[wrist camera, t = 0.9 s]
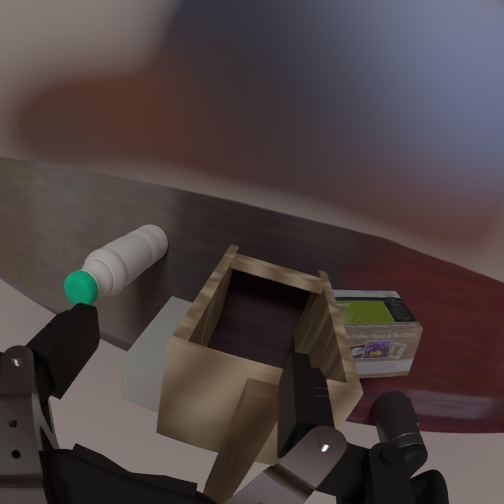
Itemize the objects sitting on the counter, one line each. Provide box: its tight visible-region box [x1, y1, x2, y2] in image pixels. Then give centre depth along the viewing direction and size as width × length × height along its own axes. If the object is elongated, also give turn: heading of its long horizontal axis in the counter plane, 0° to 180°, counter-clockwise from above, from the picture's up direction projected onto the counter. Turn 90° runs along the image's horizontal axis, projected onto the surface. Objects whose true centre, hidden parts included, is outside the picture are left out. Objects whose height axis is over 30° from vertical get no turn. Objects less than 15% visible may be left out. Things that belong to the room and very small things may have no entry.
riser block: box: [122, 296, 193, 413], centre depth 50 cm, size 8×9×22 cm
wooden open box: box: [156, 244, 363, 465], centre depth 42 cm, size 18×14×32 cm
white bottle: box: [64, 224, 168, 306], centre depth 45 cm, size 7×7×25 cm
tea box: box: [332, 290, 423, 378], centre depth 49 cm, size 15×10×15 cm
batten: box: [203, 378, 278, 504], centre depth 26 cm, size 3×22×3 cm, turn 164°
